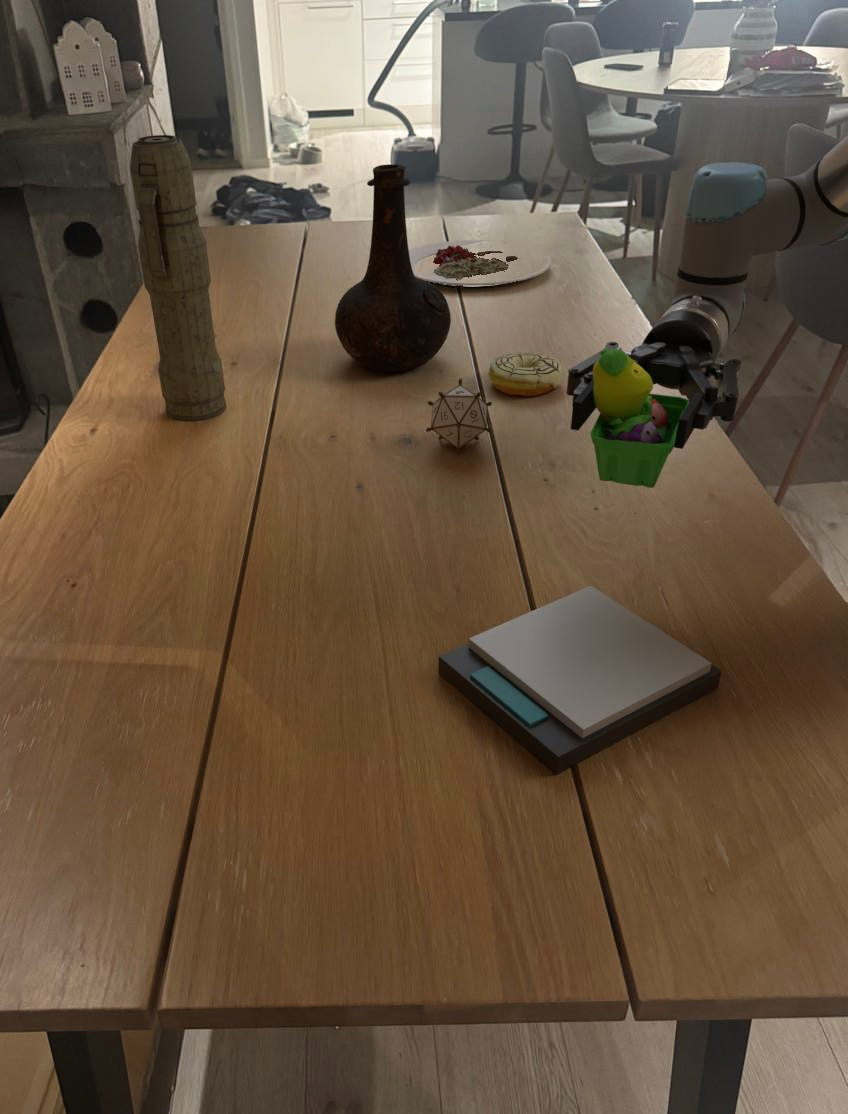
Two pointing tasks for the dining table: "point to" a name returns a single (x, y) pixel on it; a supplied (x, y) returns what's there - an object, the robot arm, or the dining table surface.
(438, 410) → the game die
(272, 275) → the dining table surface
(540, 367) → the decorated donut
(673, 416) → the fruit basket
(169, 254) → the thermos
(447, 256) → the plated food
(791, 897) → the dining table surface
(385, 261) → the glass bottle
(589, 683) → the kitchen scale
